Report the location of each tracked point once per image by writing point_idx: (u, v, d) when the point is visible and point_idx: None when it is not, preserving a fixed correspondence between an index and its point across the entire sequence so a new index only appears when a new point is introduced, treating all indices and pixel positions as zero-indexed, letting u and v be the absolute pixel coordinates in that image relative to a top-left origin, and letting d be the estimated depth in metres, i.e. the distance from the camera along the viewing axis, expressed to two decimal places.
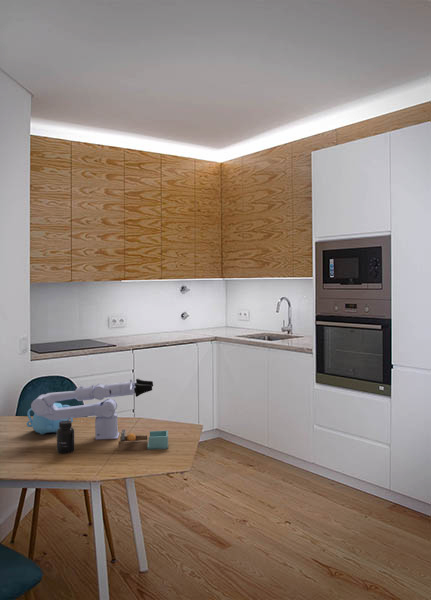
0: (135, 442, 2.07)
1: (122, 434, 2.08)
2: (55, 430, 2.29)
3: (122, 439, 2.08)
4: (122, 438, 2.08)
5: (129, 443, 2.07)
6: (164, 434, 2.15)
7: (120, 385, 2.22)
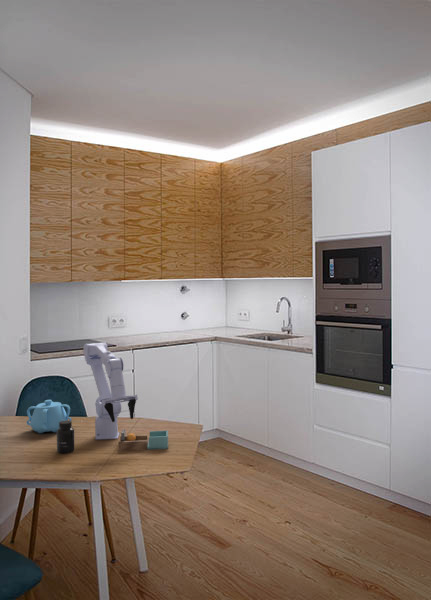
0: (135, 442, 2.07)
1: (122, 434, 2.08)
2: (51, 429, 2.30)
3: (122, 439, 2.08)
4: (122, 438, 2.08)
5: (129, 443, 2.07)
6: (164, 434, 2.15)
7: (114, 387, 2.10)
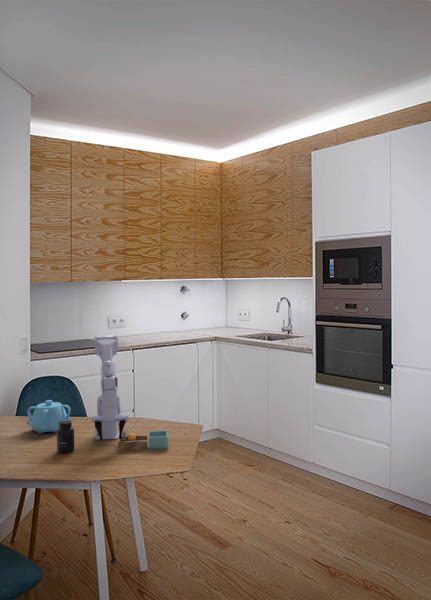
0: (135, 442, 2.07)
1: (123, 434, 2.08)
2: (52, 430, 2.30)
3: (123, 439, 2.08)
4: (123, 438, 2.08)
5: (129, 443, 2.07)
6: (164, 434, 2.15)
7: (104, 407, 2.07)
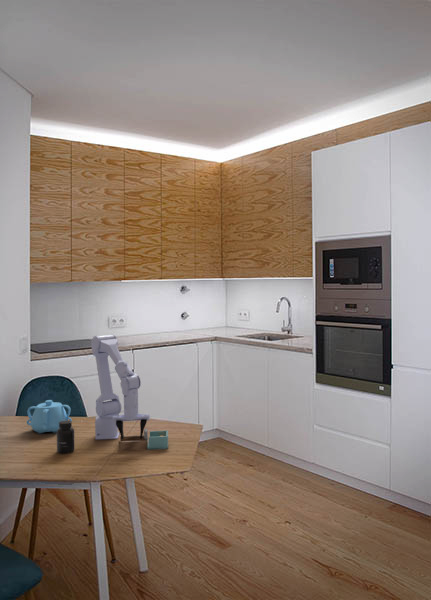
0: (135, 442, 2.07)
1: (145, 433, 2.08)
2: (52, 430, 2.30)
3: (145, 438, 2.08)
4: (145, 437, 2.08)
5: (129, 443, 2.07)
6: (164, 434, 2.15)
7: (126, 407, 2.08)
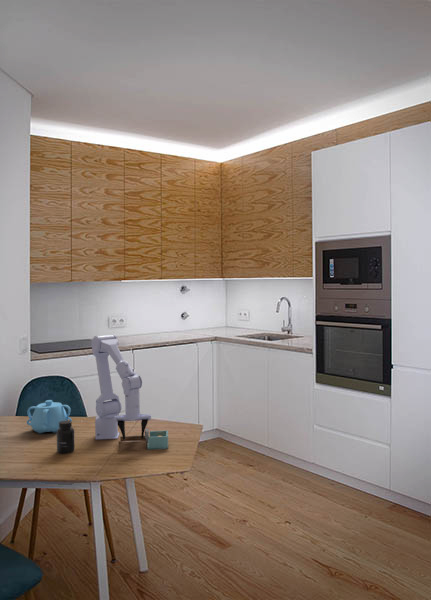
0: (135, 442, 2.07)
1: (146, 433, 2.08)
2: (52, 430, 2.30)
3: (146, 438, 2.08)
4: (146, 437, 2.08)
5: (129, 443, 2.07)
6: (164, 434, 2.15)
7: (127, 407, 2.08)
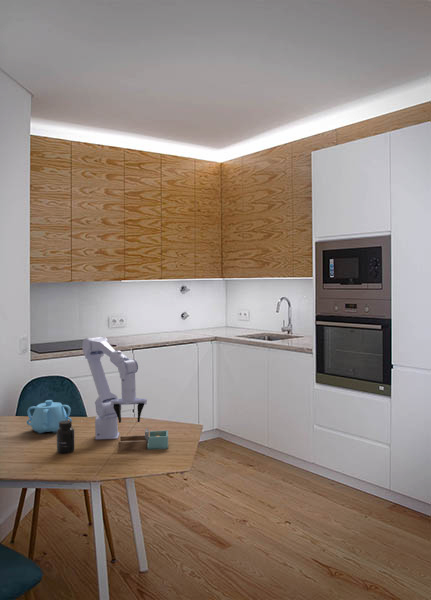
0: (135, 442, 2.07)
1: (146, 433, 2.08)
2: (52, 430, 2.30)
3: (146, 438, 2.08)
4: (146, 437, 2.08)
5: (129, 443, 2.07)
6: (164, 434, 2.15)
7: (123, 390, 2.11)
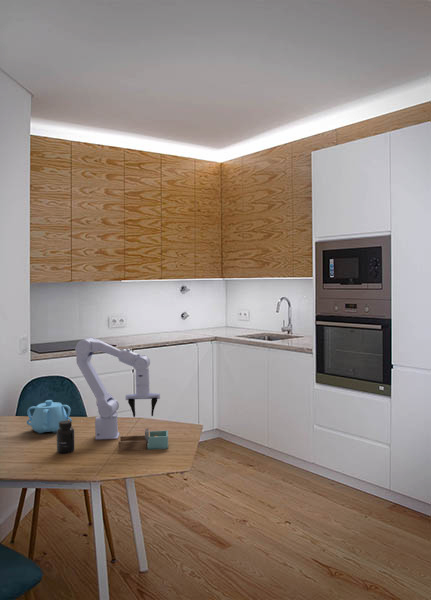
0: (135, 442, 2.07)
1: (146, 433, 2.08)
2: (52, 430, 2.30)
3: (146, 438, 2.08)
4: (146, 437, 2.08)
5: (129, 443, 2.07)
6: (164, 434, 2.15)
7: (137, 386, 2.20)
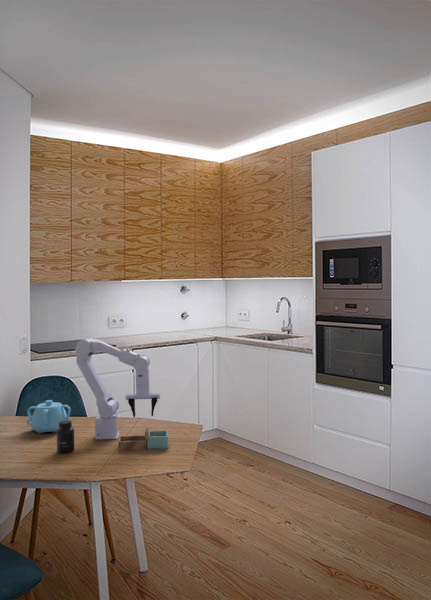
0: (135, 442, 2.07)
1: (146, 433, 2.08)
2: (52, 430, 2.30)
3: (146, 438, 2.08)
4: (146, 437, 2.08)
5: (129, 443, 2.07)
6: (164, 434, 2.15)
7: (137, 386, 2.20)
